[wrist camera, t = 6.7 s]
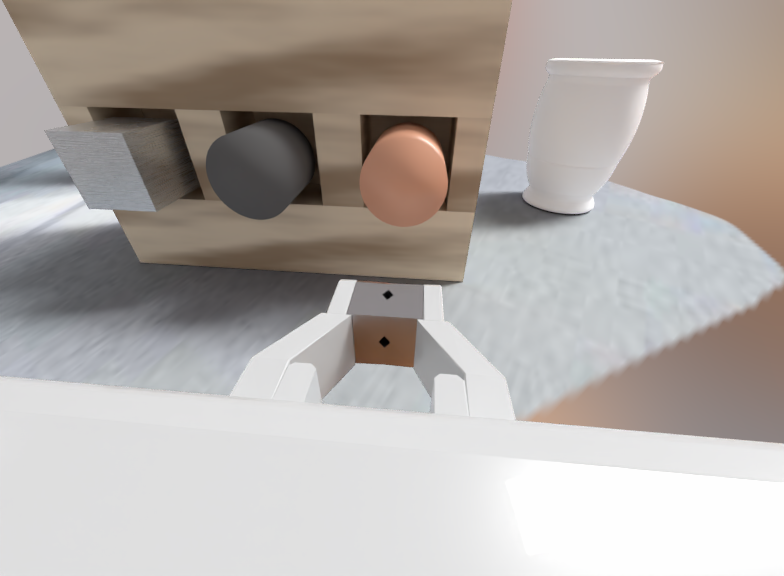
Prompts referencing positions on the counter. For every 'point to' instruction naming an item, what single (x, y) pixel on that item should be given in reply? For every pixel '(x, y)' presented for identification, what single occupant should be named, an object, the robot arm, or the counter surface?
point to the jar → (583, 128)
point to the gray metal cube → (127, 162)
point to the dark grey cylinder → (260, 167)
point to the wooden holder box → (286, 114)
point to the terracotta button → (404, 176)
